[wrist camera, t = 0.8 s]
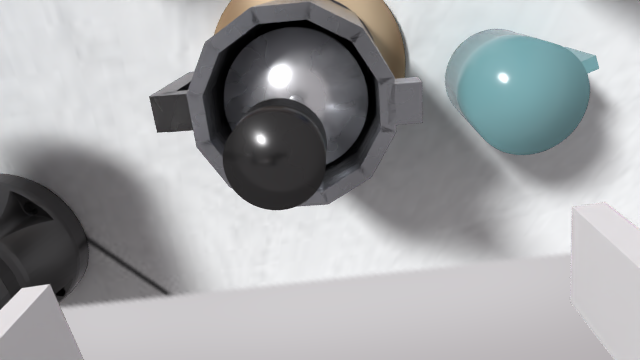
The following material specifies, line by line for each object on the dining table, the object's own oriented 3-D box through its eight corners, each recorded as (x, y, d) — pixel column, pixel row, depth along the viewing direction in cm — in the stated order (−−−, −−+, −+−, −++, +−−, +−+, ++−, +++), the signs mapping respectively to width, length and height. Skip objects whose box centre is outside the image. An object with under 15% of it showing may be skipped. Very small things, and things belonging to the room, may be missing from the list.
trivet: (228, 165, 47) (227, 168, 46) (195, -26, 41) (193, -26, 40) (407, 152, 46) (407, 154, 45) (401, -47, 40) (402, -47, 39)
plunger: (238, 170, 34) (189, 262, 23) (215, 33, 31) (145, 63, 19) (370, 161, 33) (386, 251, 22) (363, 19, 30) (377, 42, 19)
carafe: (214, 145, 46) (160, 217, 32) (189, 5, 41) (113, 17, 27) (397, 131, 44) (423, 200, 31) (392, -15, 40) (420, -13, 26)
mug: (462, 134, 45) (492, 171, 36) (432, 53, 42) (456, 72, 34) (566, 90, 43) (625, 118, 34) (541, 3, 41) (597, 10, 32)
